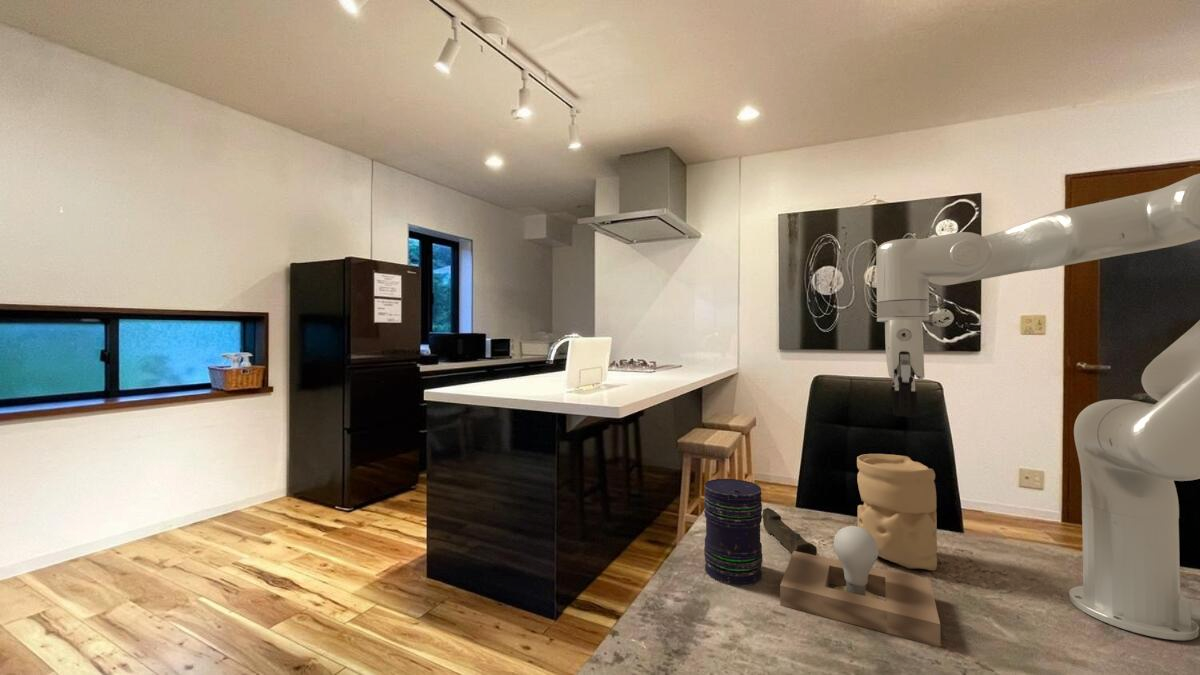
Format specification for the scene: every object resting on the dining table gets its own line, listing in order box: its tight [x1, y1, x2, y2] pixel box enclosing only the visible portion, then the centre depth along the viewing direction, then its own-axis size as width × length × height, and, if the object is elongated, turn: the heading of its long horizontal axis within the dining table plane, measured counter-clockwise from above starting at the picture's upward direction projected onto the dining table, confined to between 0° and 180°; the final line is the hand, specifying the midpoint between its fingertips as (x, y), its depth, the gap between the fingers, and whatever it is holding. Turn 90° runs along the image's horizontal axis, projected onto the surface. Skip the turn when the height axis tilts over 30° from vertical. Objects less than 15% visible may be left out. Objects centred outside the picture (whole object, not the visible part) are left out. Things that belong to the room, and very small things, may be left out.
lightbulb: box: [833, 525, 879, 596], centre depth 73 cm, size 6×6×11 cm
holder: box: [779, 551, 942, 648], centre depth 73 cm, size 20×14×3 cm
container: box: [856, 453, 938, 572], centre depth 88 cm, size 13×13×18 cm
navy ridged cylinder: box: [703, 478, 763, 587], centre depth 83 cm, size 10×10×15 cm
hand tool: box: [762, 507, 818, 556], centre depth 95 cm, size 19×4×5 cm, turn 1°
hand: (903, 412), depth 80 cm, fingers open, 9 cm apart
